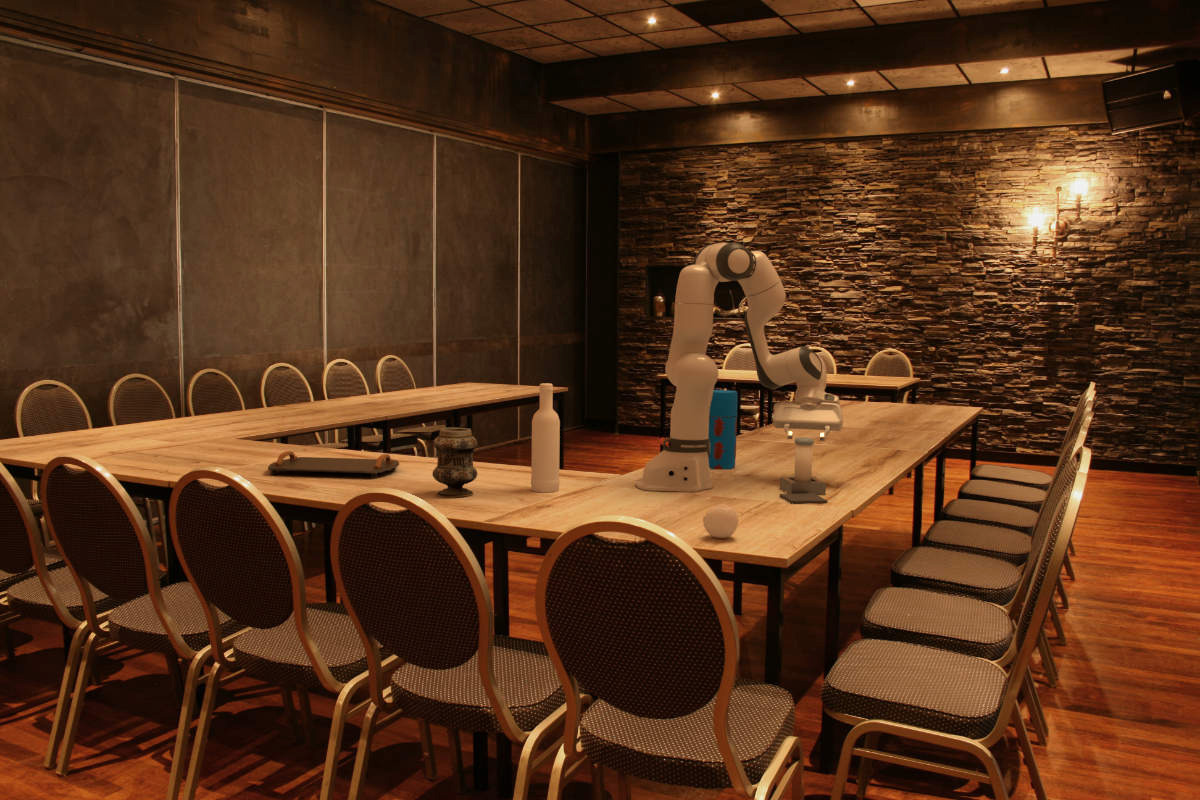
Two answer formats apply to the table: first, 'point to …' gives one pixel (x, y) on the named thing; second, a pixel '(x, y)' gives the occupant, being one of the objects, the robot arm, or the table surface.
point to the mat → (803, 498)
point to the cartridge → (803, 459)
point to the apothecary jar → (455, 461)
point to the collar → (803, 486)
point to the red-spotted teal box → (723, 429)
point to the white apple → (721, 521)
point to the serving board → (333, 464)
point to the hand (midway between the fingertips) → (806, 438)
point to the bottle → (545, 444)
